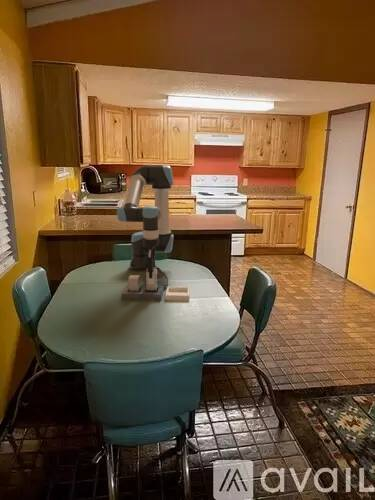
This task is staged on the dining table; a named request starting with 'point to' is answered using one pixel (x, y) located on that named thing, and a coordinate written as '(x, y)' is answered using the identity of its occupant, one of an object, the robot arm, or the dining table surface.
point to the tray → (177, 293)
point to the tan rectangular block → (154, 286)
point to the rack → (143, 293)
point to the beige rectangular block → (134, 283)
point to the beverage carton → (161, 278)
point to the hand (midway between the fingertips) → (151, 281)
